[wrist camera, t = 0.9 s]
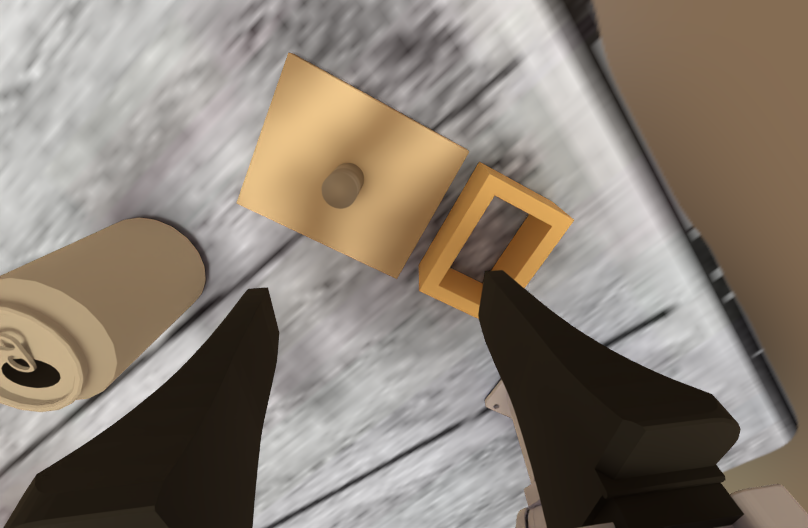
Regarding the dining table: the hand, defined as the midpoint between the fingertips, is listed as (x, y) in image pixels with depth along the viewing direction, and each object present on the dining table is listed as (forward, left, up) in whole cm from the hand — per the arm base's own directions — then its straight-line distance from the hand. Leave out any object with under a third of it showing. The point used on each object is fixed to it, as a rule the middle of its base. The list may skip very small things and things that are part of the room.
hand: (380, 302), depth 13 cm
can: (+13, +13, -15) cm, 24 cm away
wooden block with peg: (+3, 0, -15) cm, 15 cm away
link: (-7, 0, -15) cm, 16 cm away
